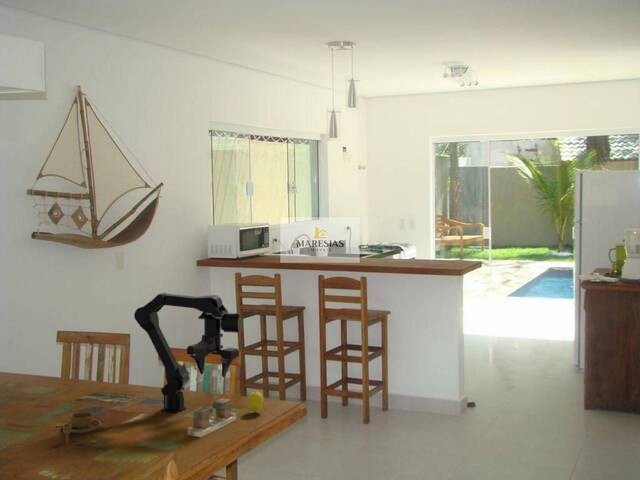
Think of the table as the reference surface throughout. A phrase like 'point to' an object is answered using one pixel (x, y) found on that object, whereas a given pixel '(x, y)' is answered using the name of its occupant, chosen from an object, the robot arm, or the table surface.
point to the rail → (216, 426)
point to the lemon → (255, 401)
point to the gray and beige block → (223, 408)
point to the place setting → (79, 424)
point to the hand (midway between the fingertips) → (212, 375)
